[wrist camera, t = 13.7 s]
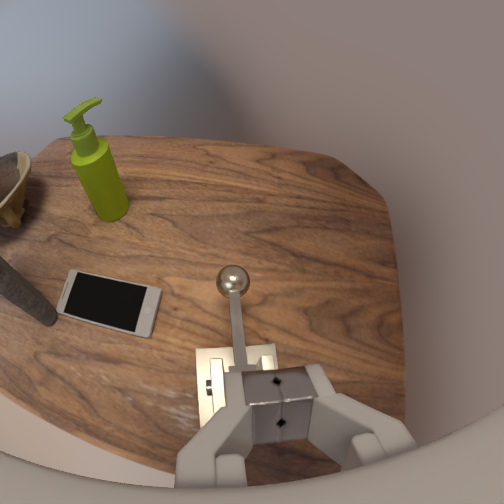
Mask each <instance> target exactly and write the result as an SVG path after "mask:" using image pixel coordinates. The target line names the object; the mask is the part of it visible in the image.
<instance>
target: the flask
mask: <svg viewBox="0 0 504 504" xmlns="http://www.w3.org/2000/svg"><path fill="white" fill-rule="evenodd" d="M0 294H1V295H3V296H4V297H5V298H7V299H8V300H10V301H11V302H12V303H14V304H15V305H16V306H18V307H19V308H21V309H22V310H24V311H25V312H27V313H28V314H30V315H31V316H33V317H34V318H36V319H37V320H39V321H40V322H42V323H43V324H45V325H46V326H52V325H53V324H55V322H56V320H57V312H56V310H55V309H54V308H53V306H52V305H51V304H50V302H49V301H48V300H47V299H46V298H45V297H44V296H43V295H42V294H41V293H40V292H39V291H38V290H37V289H36V288H35V287H34V286H32V285H31V284H30V283H29V282H28V281H27V280H26V279H24V278H23V277H22V276H21V275H20V274H19V273H18V272H17V271H16V270H14V269H13V268H12V267H11V266H10V265H9V264H8V263H7V262H6V261H5V260H4V259H3V258H2V257H1V256H0Z"/></svg>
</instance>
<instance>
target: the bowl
mask: <svg viewBox="0 0 504 504" xmlns="http://www.w3.org/2000/svg"><path fill="white" fill-rule="evenodd" d="M30 173H31V157H30V156H29V154H27V153H25V152H13V153H10V154H6V155H4V156H2V157H0V225H1V226H2V227H5V228H7V227H10V226H11V227H12V228H14V229H18V228H19V227H20V226H21V217H22V215H23V214H24V212H25V209H26V202H25V200H24V196H25V190H26V182H27V179H28V175H29V174H30Z"/></svg>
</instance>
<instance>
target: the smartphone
mask: <svg viewBox="0 0 504 504" xmlns="http://www.w3.org/2000/svg"><path fill="white" fill-rule="evenodd" d="M161 295H162V290H161V289H160V288H158V287H154V286H149V285H144V284H139V283H134V282H129V281H124V280H119V279H115V278H110V277H105V276H101V275H96V274H92V273H87V272H83V271H79V270H74V269H71V270H70V271H69V274H68V277H67V279H66V282H65V285H64V287H63V290H62V293H61V296H60V299H59V301H58V304H57V307H56V311H57V312H58V313H59V314H61V315H64V316H67V317H70V318H74V319H77V320H80V321H83V322H87V323H90V324H94V325H97V326H101V327H104V328H108V329H111V330H115V331H119V332H123V333H127V334H131V335H135V336H139V337H143V338H150V337H151V334H152V330H153V326H154V322H155V318H156V314H157V310H158V306H159V302H160V299H161Z"/></svg>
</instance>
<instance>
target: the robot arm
mask: <svg viewBox="0 0 504 504" xmlns="http://www.w3.org/2000/svg"><path fill="white" fill-rule="evenodd" d="M224 383H225V399H226V407H220V409H219V410H218V411H217V412H216V413H215V414H214V415H213V416H212V417H211V418H210V420H209V421H208V422H207V423H206V424H205V425H204V426H203V427H202V428H201V429H200V430H199V431H198V432H197V433H196V435H195V436H194V437H193V438H192V439H191V440H190V441H189V442H188V443H187V444H186V445H185V446H184V447H183V448H182V449H181V450H180V451H179V452H178V453H177V461H176V472H175V484H174V488H165V487H152V486H142V485H133V484H125V483H117V482H111V481H105V480H100V479H94V478H89V477H85V476H80V475H76V474H71V473H67V472H63V471H59V470H55V469H52V468H49V467H45V466H42V465H39V464H35V463H32V462H29V461H26V460H23V459H21V458H18V457H15V456H12V455H10V454H7V453H4V452H2V451H0V504H504V404H503V405H501V406H499V407H498V408H496V409H494V410H493V411H491V412H489V413H488V414H486V415H484V416H482V417H480V418H479V419H477V420H475V421H473V422H471V423H470V424H467V425H465V426H464V427H461V428H460V429H457V430H455V431H454V432H451V433H449V434H447V435H445V436H443V437H441V438H438V439H436V440H434V441H431V442H429V443H427V444H424V445H422V446H418V445H417V443H416V442H415V441H414V439H413V438H412V436H411V435H410V433H409V432H408V430H407V429H406V427H405V426H404V424H403V423H402V422H401V421H399V420H397V419H395V418H392V417H390V416H388V415H386V414H384V413H381V412H379V411H377V410H375V409H373V408H371V407H369V406H366V405H364V404H362V403H360V402H358V401H356V400H354V399H352V398H350V397H348V396H346V395H344V394H342V393H337V394H336V392H335V390H334V389H333V387H332V385H331V383H330V381H329V379H328V377H327V376H326V374H325V372H324V370H323V368H322V366H321V365H320V364H319V363H317V364H311V365H304V366H301V367H293V368H284V369H274V370H273V369H272V370H256V371H241V372H240V371H239V372H225V373H224ZM301 439H307V440H308V441H310V442H311V443H312V444H313V445H315V446H316V447H317V448H318V449H320V450H321V451H322V452H323V453H325V454H326V455H327V456H329V457H330V458H331V459H332V460H334V461H335V462H336V463H338V464H339V465H340V466H342V469H341V472H337V473H333V474H329V475H324V476H319V477H314V478H309V479H304V480H298V481H292V482H285V483H278V484H270V485H261V486H250V487H248V485H247V478H246V471H245V464H244V461H245V459H246V458H247V456H248V454H249V453H250V451H251V449H252V447H253V445H262V444H269V443H277V442H285V441H293V440H301Z"/></svg>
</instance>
